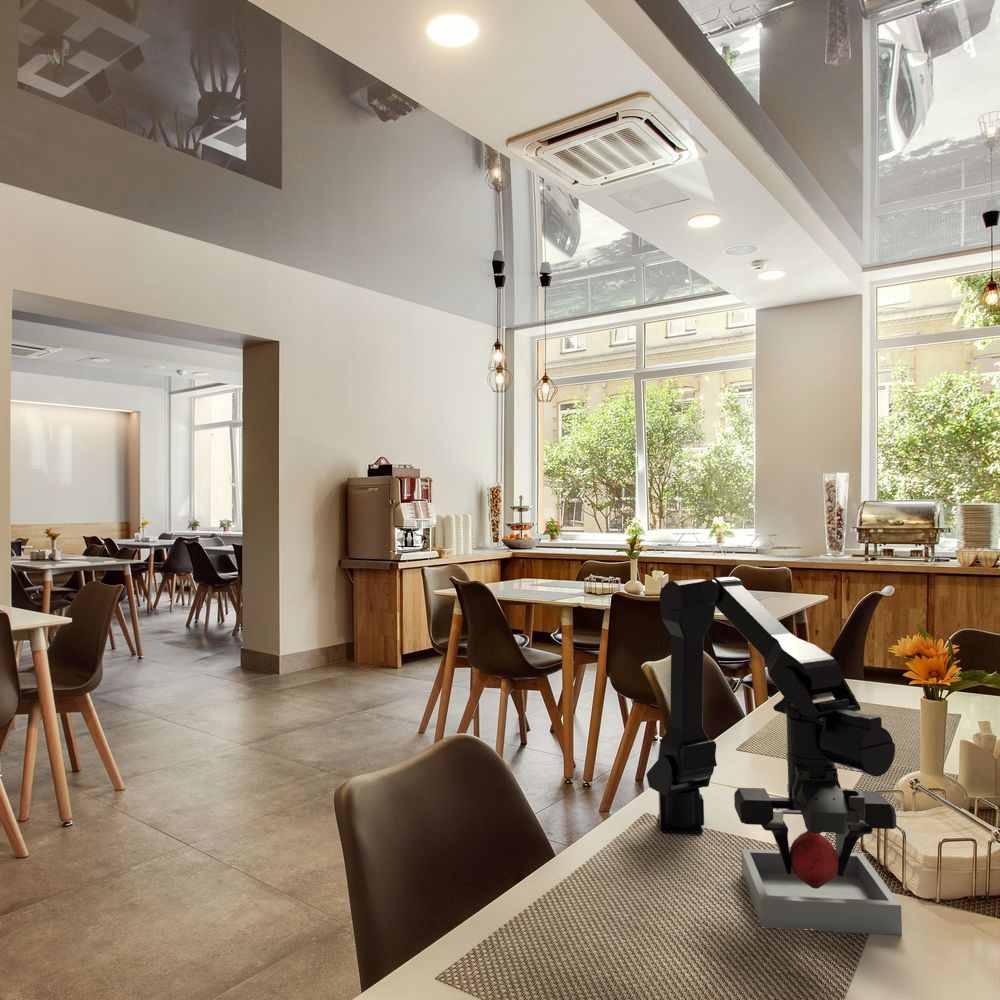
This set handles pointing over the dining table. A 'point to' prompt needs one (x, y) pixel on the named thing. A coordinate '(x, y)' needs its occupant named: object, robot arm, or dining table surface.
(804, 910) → the tray
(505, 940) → the dining table surface
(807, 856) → the onion
